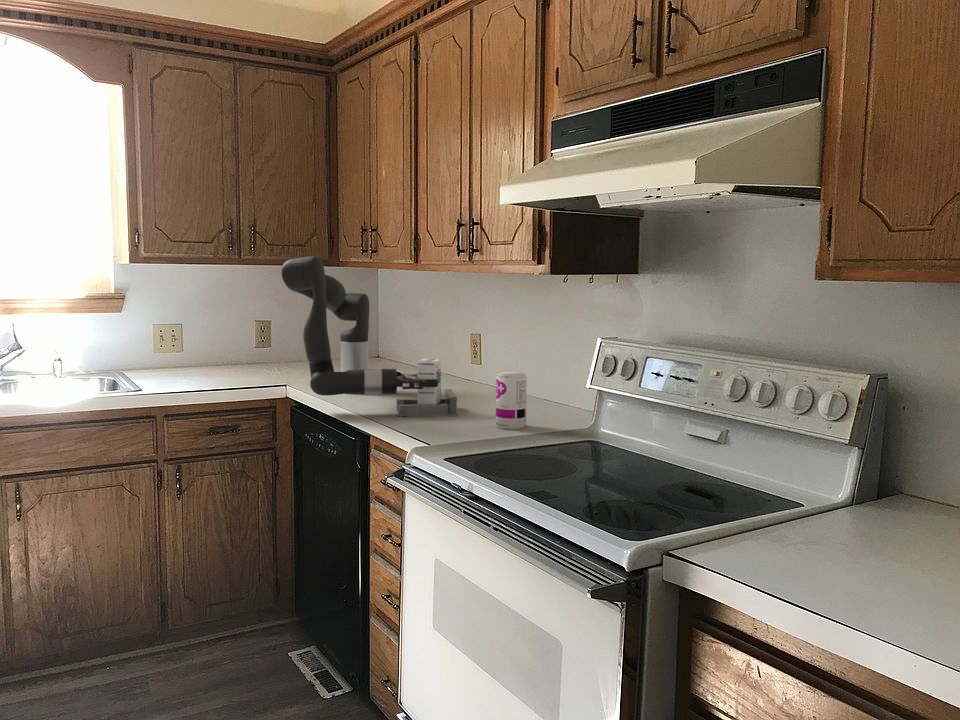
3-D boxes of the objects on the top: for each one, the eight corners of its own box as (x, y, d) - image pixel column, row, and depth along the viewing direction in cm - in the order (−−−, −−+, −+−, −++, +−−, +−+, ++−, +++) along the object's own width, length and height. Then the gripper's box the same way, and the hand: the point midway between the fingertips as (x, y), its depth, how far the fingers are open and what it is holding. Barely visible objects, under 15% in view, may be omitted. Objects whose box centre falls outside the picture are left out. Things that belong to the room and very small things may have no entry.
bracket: (396, 407, 246) (396, 390, 245) (451, 406, 248) (452, 389, 247) (398, 416, 232) (398, 398, 231) (457, 415, 234) (457, 396, 234)
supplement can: (501, 430, 215) (501, 374, 213) (492, 424, 222) (492, 370, 220) (530, 429, 217) (531, 373, 215) (520, 423, 225) (520, 369, 223)
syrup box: (436, 410, 237) (436, 361, 235) (416, 409, 238) (417, 360, 236) (441, 406, 242) (441, 358, 240) (421, 405, 243) (422, 357, 241)
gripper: (380, 372, 229) (439, 372, 232) (379, 365, 243) (434, 365, 246) (380, 398, 230) (438, 397, 233) (379, 390, 244) (434, 389, 247)
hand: (436, 381), depth 239 cm, fingers closed on syrup box, 7 cm apart
